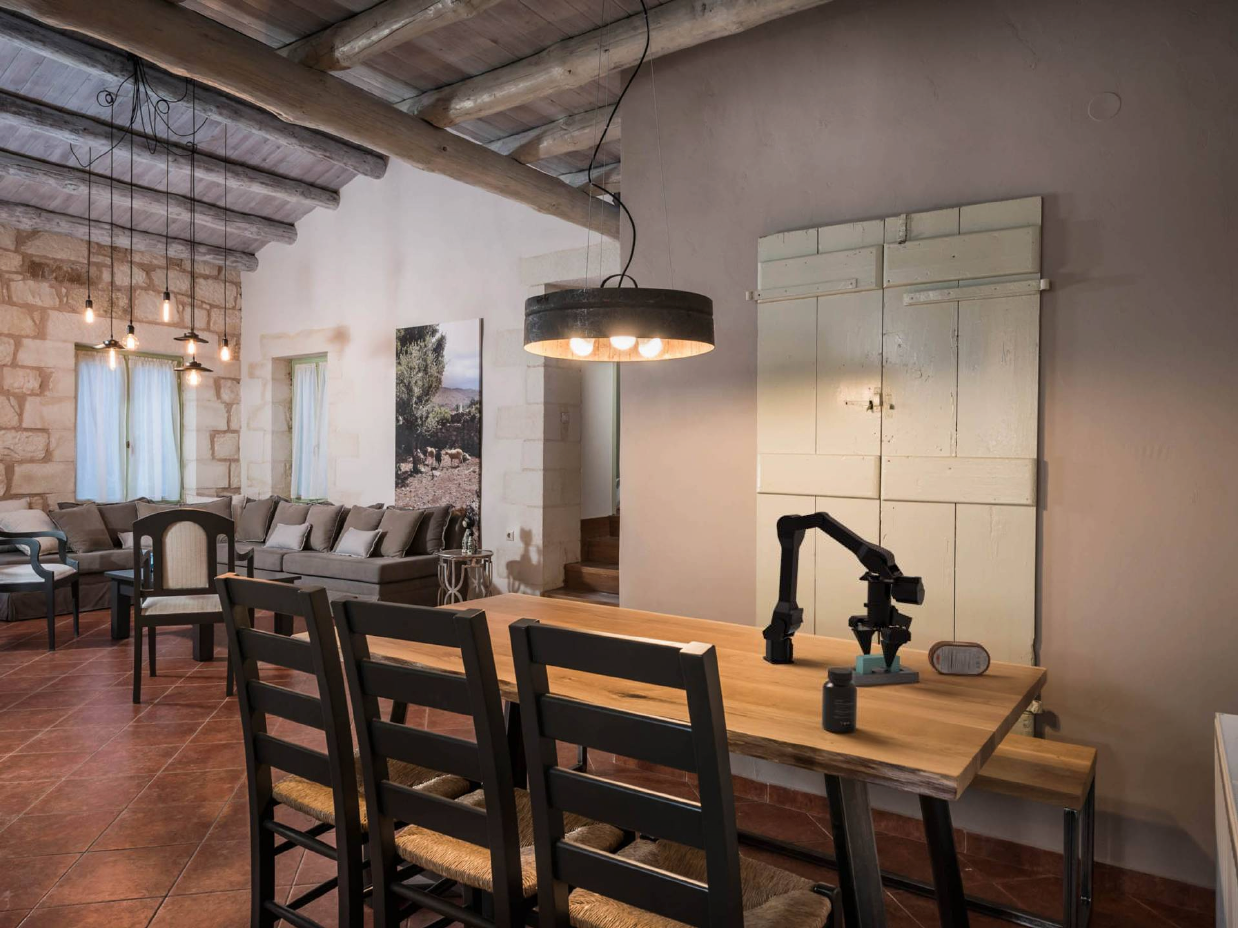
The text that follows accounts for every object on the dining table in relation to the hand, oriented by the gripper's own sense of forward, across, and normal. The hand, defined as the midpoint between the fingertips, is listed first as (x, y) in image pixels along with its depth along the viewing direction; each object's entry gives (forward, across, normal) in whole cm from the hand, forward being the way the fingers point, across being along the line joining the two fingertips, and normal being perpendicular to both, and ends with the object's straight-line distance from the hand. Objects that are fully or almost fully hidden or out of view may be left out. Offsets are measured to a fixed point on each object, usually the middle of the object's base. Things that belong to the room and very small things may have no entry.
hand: (877, 662), depth 199 cm
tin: (+5, 0, -24) cm, 24 cm away
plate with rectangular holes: (+4, 0, 0) cm, 4 cm away
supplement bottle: (+4, -30, +29) cm, 42 cm away
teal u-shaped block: (+4, 0, 0) cm, 4 cm away
